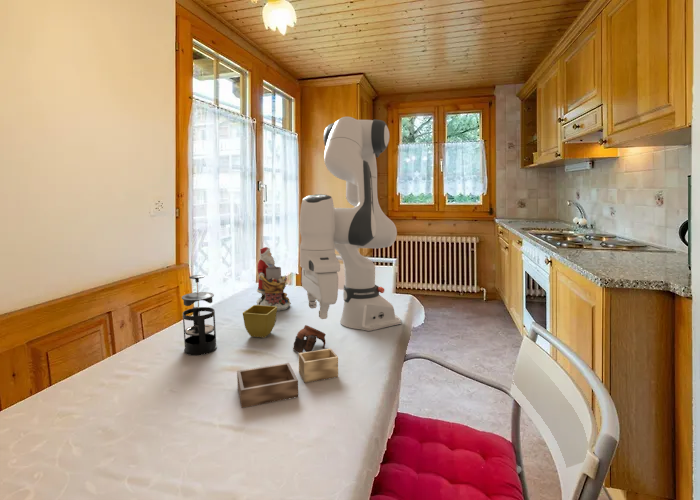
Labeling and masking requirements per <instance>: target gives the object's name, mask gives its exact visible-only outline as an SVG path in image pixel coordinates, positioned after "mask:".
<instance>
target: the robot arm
mask: <svg viewBox="0 0 700 500" xmlns="http://www.w3.org/2000/svg"><path fill="white" fill-rule="evenodd" d="M389 142H390V131H389V128H388V124H387V123H386V122H385V121H384V120H381V119H375V118H374V119H373V120H372V119H356V118H354V117H352V116H342V117H341V118H339V119H337V120H336V121H335V122H333V123H330V124H328V125H327V126H326V127H325V129H324V132H323V144H324V148H325V149H324V155H323V158H324V160H323V161H324V165H325V167H326V169H327V171H328V172H329V173H330V174H331V175H333V176H334V177H335V178H338V179H339V180H342V181H345V199H346V201H347V202H348V203H349V204H350V205H352V207H335V205H334V200H333V197H332V196H331V195H328V194H322V193H320V194H319V193H318V194H310V195H306V196H305V197H303V198H302V200H301V205H300V214H299V233H300V238H301V239H300V244H299V266H300V268H301V287H302V288H303V289H304V290H305V292H306V295H307V300H308V307H309V308H310V309H316V308H317V302H318V303H319V310H318V317H319V319H321V320H326V319H328V314H329V313H328V311H329V309H330V306H331V305H335V304H336V303H337V300H338V295H339V272H341V263H340V261H339V260H338V258H337V255H336V252H337V253H338V254H339V256H340V258H341V260H342V262H343V263H342V264H343V270H344V284H343V294H342V296H343V309H342V313H341V318H340V321H339V322H340V324H341V325H342V326H343V327H346V328H349V329H355V330H363V331H365V332H366V331H368V332H370V331H375V330H379V329H384V328H387V327H388V328H389V327H392V326H396V325H401V324H400V323H402V321H401V318H400V317H399V316H398V315H396V313H395V309H394V306H393V304H392V303H391V302H390V301H388V299H386V298H385V297H383V296H382V295H381V294H384V293H385V291H386V290H385V288H384V287H382V286H379V285H376V265H375V263H374V262H373V260H371V259H369V258H368V257H366V256H364V255H362V254H361V253H360V251H359V249H382V248H388V247H391V246H393V244H394V243H395V241H396V239H397V236H398V229H397V227H396V224H395V223H394V221H393V220H391V218H389V217H388V216H387V215H386V214H385V212H383V210H382V208H381V206H380V203H379V198H378V166H377V159H378V158H379V157H380V155H381V154H382V153H384V152H385V150H386V149H387V148H388V145H389ZM376 158H377V159H376Z"/></svg>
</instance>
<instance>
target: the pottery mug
mask: <svg viewBox="0 0 700 500" xmlns="http://www.w3.org/2000/svg"><path fill="white" fill-rule="evenodd" d="M325 337H326V333H324V332H322V331H320V330H319V329H316V328H315V327H312V326H309V325H304V327H303V328H302V329H300V330H299V331H298V332H297V334H296V336H295V339H294V342H293V347H292V349H293V351H294V352H296V353H297V354H299V353H303V352H310V351H314V347H315V345H316V343H317V339H318V340H320V342H322V348H323V349H325V348H326V347H325V346H326V344H327V343H326V338H325Z"/></svg>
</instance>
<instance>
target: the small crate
mask: <svg viewBox="0 0 700 500" xmlns="http://www.w3.org/2000/svg"><path fill="white" fill-rule="evenodd" d="M298 373H299V376H300V378H301V379H302V381H303V383H304V384H308V383H312V382H313V383H314V382H317V381H324V379H325V380H330V379H329V378H331V379H335V378H334V377H336V378H339V356H338V355H337V354H336V352H335V351H334V350H333V349H332V348H323V349H319V350H312V351H310V352H306V351H303V353H298Z"/></svg>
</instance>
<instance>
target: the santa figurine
mask: <svg viewBox="0 0 700 500" xmlns="http://www.w3.org/2000/svg"><path fill="white" fill-rule="evenodd" d="M259 251H260V254H259V255H260V256H259V261H258V262H257V274H258V286H257V289H256V292H257V293H259V294H261V297H260V298H259V297H258V299H257V301H256V305H262V306H275V307H277V312H280V311H285V310H288V309H289V308H290V307H291V305H292V303H291V302H290V298H289V296H288V297H287V295H288V294H287V292H284V291H285V289H286V283H287V280H288V278H287V276H286V275H282V267H280V266H276V265H275V264H276V263H275V259H274V256H272V252H271V248H270V247H267V246H265V247H261V249H260V250H259Z"/></svg>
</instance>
